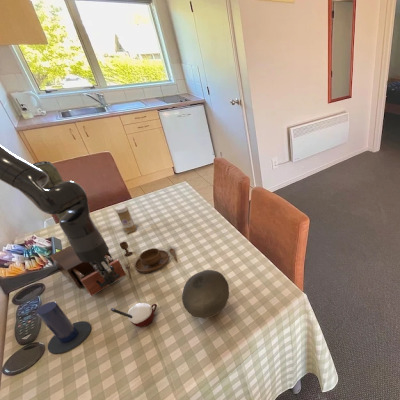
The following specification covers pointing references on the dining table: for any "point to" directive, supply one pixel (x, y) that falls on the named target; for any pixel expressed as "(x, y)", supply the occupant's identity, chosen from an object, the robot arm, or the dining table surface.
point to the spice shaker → (57, 322)
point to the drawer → (96, 275)
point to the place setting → (148, 259)
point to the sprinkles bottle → (125, 218)
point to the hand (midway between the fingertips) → (111, 282)
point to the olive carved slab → (50, 177)
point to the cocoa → (139, 314)
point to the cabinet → (68, 263)
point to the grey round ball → (205, 294)
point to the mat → (59, 347)
